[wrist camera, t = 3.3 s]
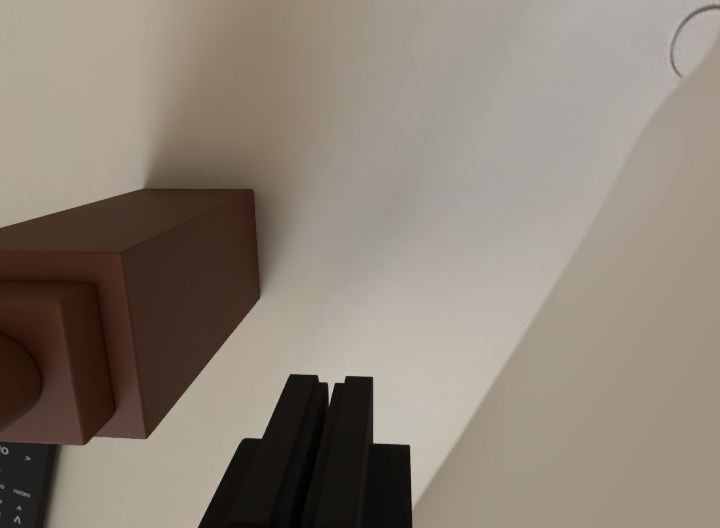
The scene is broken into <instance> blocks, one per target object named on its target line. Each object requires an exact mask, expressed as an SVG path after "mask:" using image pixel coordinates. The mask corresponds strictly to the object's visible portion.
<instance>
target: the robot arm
mask: <svg viewBox="0 0 720 528" xmlns="http://www.w3.org/2000/svg"><path fill="white" fill-rule="evenodd" d="M198 528H412V500H411V465H410V445H399V444H375V443H373V377H361V376H346V378H345V382H344V383H335V385H334V389H333V393H332V397H331V401H330V405H329V395H328V383H325V382H319V379H318V375H298V374H290V376H289V378H288V380H287V382H286V384H285V387H284V389H283V391H282V394H281V396H280V398H279V401H278V403H277V405H276V407H275V410H274V412H273V414H272V417H271V419H270V421H269V424H268V426H267V428H266V431H265V433H264V435H263V437H262V439H256V438H245V439H243V440H242V441H241V443H240V444H239V446H238V448H237V450H236V452H235V454H234V456H233V458H232V460H231V462H230V464H229V466H228V468H227V470H226V472H225V474H224V476H223V478H222V480H221V482H220V484H219V486H218V488H217V490H216V492H215V494H214V496H213V498H212V500H211V502H210V504H209V506H208V508H207V510H206V512H205V514H204V516H203V518H202V520H201V522H200V524H199V526H198Z"/></svg>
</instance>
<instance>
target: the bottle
mask: <svg viewBox="0 0 720 528" xmlns="http://www.w3.org/2000/svg"><path fill="white" fill-rule="evenodd" d="M259 299H260V288H259V272H258V256H257V240H256V225H255V209H254V193H253V190H252V189H140V190H137V191H133V192H129V193H126V194H122V195H119V196H115V197H111V198H108V199H104V200H100V201H97V202H93V203H89V204H86V205H82V206H79V207H75V208H71V209H68V210H64V211H60V212H57V213H53V214H50V215H46V216H42V217H39V218H35V219H31V220H28V221H24V222H20V223H17V224H13V225H10V226H6V227H2V228H0V441H3V442H23V443H42V444H62V445H81V446H82V445H85V444H87V443H88V442H89V441H90V440H91V439H92V438H93V437H112V438H132V439H147V438H148V437H149V436H150V435H151V433H152V432H153V431H154V430H155V428H156V427H157V426H158V425H159V423H160V422H161V421H162V420H163V418H164V417H165V416H166V415H167V413H168V412H169V411H170V410H171V408H172V407H173V406H174V405H175V403H176V402H177V401H178V400H179V398H180V397H181V396H182V395H183V394H184V392H185V391H186V390H187V389H188V387H189V386H190V385H191V384H192V382H193V381H194V380H195V379H196V377H197V376H198V375H199V374H200V372H201V371H202V370H203V369H204V367H205V366H206V365H207V364H208V362H209V361H210V360H211V359H212V357H213V356H214V355H215V354H216V352H217V351H218V350H219V349H220V347H221V346H222V345H223V344H224V342H225V341H226V340H227V339H228V337H229V336H230V335H231V334H232V333H233V331H234V330H235V329H236V328H237V326H238V325H239V324H240V323H241V321H242V320H243V319H244V318H245V316H246V315H247V314H248V313H249V311H250V310H251V309H252V308H253V306H254V305H255V304H256V303H257V301H258V300H259Z"/></svg>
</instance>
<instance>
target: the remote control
mask: <svg viewBox="0 0 720 528" xmlns="http://www.w3.org/2000/svg"><path fill="white" fill-rule="evenodd" d="M55 449H56V444H42V443H23V442H3V441H0V528H41V527H42V522H43V516H44V511H45V505H46V499H47V494H48V488H49V483H50V477H51V471H52V466H53V460H54V455H55Z"/></svg>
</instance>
